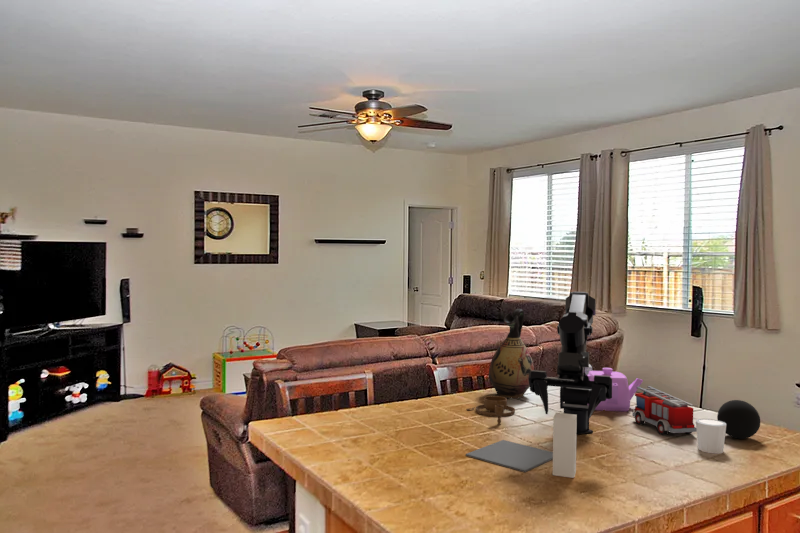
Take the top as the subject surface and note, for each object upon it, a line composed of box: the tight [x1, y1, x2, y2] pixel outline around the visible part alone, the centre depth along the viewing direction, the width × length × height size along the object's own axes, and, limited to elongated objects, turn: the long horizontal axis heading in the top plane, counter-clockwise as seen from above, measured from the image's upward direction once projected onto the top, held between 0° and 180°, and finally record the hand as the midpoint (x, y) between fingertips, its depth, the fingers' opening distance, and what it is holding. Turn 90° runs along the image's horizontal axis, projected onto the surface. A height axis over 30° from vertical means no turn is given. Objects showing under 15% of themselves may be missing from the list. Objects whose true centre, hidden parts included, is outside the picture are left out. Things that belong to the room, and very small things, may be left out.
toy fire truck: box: [632, 385, 697, 436], centre depth 168 cm, size 9×19×10 cm, turn 12°
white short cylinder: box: [695, 418, 726, 454], centre depth 149 cm, size 7×7×7 cm
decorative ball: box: [716, 399, 761, 440], centre depth 160 cm, size 10×10×10 cm
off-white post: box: [552, 412, 577, 479], centre depth 131 cm, size 4×4×12 cm
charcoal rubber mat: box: [465, 439, 553, 473], centre depth 143 cm, size 16×16×1 cm
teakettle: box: [587, 367, 644, 412], centre depth 194 cm, size 17×17×12 cm
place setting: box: [466, 395, 516, 426], centre depth 181 cm, size 18×20×6 cm
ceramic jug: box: [488, 308, 535, 399], centre depth 208 cm, size 17×15×30 cm
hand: (567, 415), depth 136 cm, fingers open, 9 cm apart
